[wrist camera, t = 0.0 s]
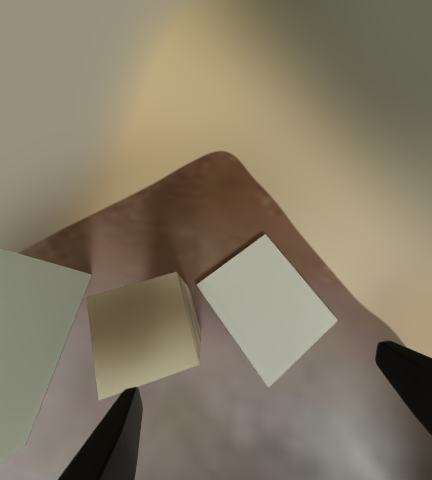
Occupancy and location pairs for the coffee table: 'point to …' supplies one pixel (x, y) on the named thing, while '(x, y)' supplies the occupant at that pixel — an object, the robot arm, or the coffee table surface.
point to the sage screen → (31, 337)
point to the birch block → (143, 333)
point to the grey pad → (267, 308)
